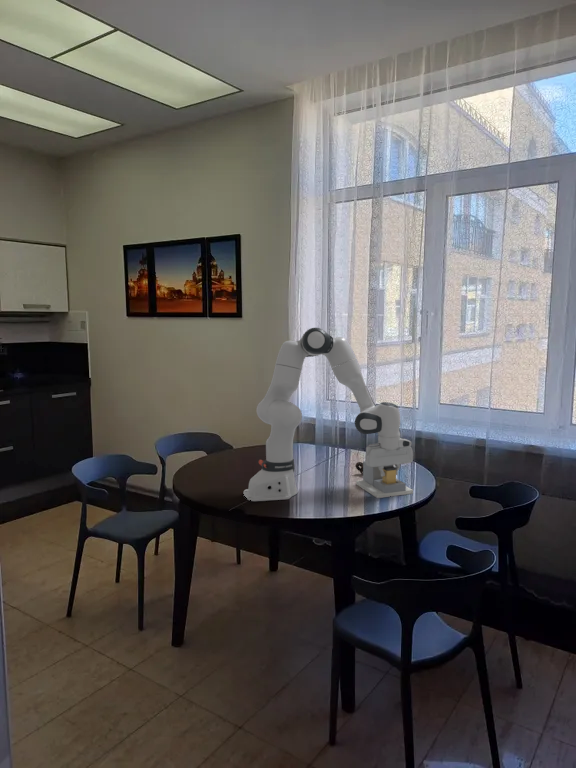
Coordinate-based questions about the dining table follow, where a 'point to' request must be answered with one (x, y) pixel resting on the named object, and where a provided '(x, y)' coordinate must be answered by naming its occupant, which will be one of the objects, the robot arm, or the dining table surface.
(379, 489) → the square socket stand
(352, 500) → the dining table surface
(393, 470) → the plug
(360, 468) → the pottery mug
